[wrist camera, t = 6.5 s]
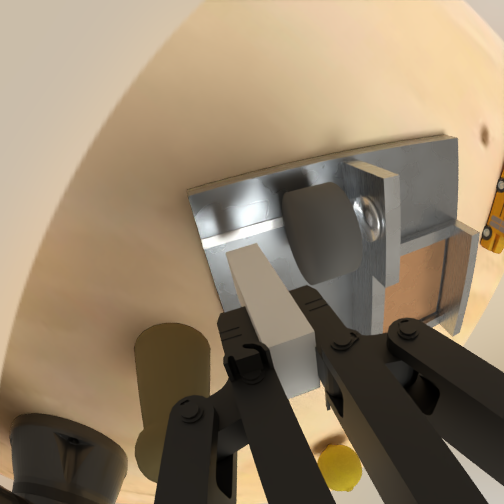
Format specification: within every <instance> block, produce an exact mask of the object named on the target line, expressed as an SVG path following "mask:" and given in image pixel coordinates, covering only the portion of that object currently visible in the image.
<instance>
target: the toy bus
mask: <svg viewBox="0 0 504 504" xmlns="http://www.w3.org/2000/svg"><path fill="white" fill-rule="evenodd" d="M497 190H498V191H497V193H496V196H495V200H494V203H493V207H492V210H491V213H490V216H489V219H488V223H487V226H485V227H484V230H483V232H482V237H483V238H482V240H481V246H482V247H484V248H486V249H487V250H489V251H492V252H494V253H498V254H500V253H501V252H502V250H503V248H504V170H503V173H502V175H501V179H499V180H498V183H497Z"/></svg>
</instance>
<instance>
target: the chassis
mask: <svg viewBox="0 0 504 504" xmlns="http://www.w3.org/2000/svg"><path fill="white" fill-rule="evenodd" d="M326 182H333V183H335V184H337V185H338V186H339V187H340V188H341V189H342V190H343V191H344V192H345V194H346V195H347V197H348V199H349V200H350V202H351V204H352V206H353V208H354V211H355V213H356V216H357V219H358V222H359V226H360V230H361V236H362V245H363V253H362V260H361V264H360V266H359V268H358V269H357V270H356V271H354V272H351V273H348V274H345V275H342V276H339V277H336V278H333V279H330V280H327V281H325V282H322V283H319V284H316V285H310V284H309V283H308V282H307V281H306V280H305V279H304V277H303V276H302V274H301V272H300V270H299V268H298V266H297V264H296V262H295V259H294V257H293V254H292V251H291V248H290V245H289V242H288V238H287V234H286V230H285V226H284V220H283V213H282V199H283V195H284V194H285V193H286V192H290V191H294V190H298V189H302V188H306V187H310V186H314V185H318V184H322V183H326ZM187 192H188V198H189V202H190V205H191V208H192V212H193V215H194V218H195V222H196V225H197V228H198V232H199V235H200V238H201V242H202V245H203V248H204V251H205V254H206V258H207V261H208V264H209V267H210V270H211V273H212V276H213V279H214V283H215V286H216V289H217V292H218V295H219V298H220V301H221V304H222V307H223V310H224V312H228V311H231V310H234V309H237V308H240V307H241V305H240V302H239V299H238V296H237V292H236V289H235V285H234V282H233V278H232V275H231V271H230V268H229V264H228V260H227V257H226V253H225V252H228V251H232V250H235V249H238V248H241V247H245V246H248V245H251V244H255V243H257V244H258V246H259V247H260V249H261V250H262V252H263V253H264V255H265V256H266V258H267V259H268V261H269V262H270V264H271V265H272V267H273V268H274V270H275V271H276V273H277V275H278V276H279V278H280V279H281V281H282V282H283V284H284V285H285V287H286V288H287V290H288V291H290V290H293V289H296V288H299V287H302V286H305V285H308V286H310V287H312V288H314V289H316V290H317V291H318V292H319V293H320V294H321V296H322V297H323V299H325V301H326V302H327V303H328V305H329V306H330V307H331V308H332V310H333V311H334V312H335V313H336V315H337V316H338V317H339V319H340V320H341V321H342V322H343V324H344V325H345V326H346V327H347V328H350V329H353V330H356V331H358V332H359V333H360V334H361V335H376V334H382V333H388V328H389V326H390V325H391V324H392V322H394V321H396V320H398V319H401V318H406V317H407V318H415V319H417V320H420V321H422V322H423V323H425V324H426V325H428V326H430V327H431V328H432V327H434V326H436V325H438V324H440V325H441V326H442V327H443V328H444V329H445V330H446V331H447V332H448V333H449V334H450V335H451V336H452V337H453V336H454V335H456V334H458V333H459V332H460V329H461V326H462V322H463V318H464V314H465V310H466V306H467V301H468V297H469V293H470V288H471V283H472V278H473V273H474V267H475V261H476V255H477V248H478V241H479V233H480V232H478V231H476V230H475V229H473V228H471V227H469V226H467V225H466V224H464V223H462V222H460V221H458V220H457V203H458V138H456V137H452V136H448V135H439V136H432V137H425V138H418V139H411V140H405V141H398V142H392V143H386V144H380V145H375V146H369V147H364V148H358V149H353V150H348V151H343V152H338V153H333V154H328V155H323V156H318V157H314V158H309V159H305V160H300V161H296V162H291V163H287V164H283V165H278V166H274V167H270V168H266V169H262V170H258V171H254V172H250V173H246V174H242V175H239V176H235V177H231V178H227V179H224V180H220V181H216V182H213V183H209V184H206V185H202V186H199V187H195V188H192V189H188V190H187Z"/></svg>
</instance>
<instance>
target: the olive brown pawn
mask: <svg viewBox="0 0 504 504" xmlns="http://www.w3.org/2000/svg"><path fill="white" fill-rule="evenodd" d="M134 351H135V362H136V372H137V382H138V390H139V398H140V406H141V413H142V420H143V426H144V430H143V431H142V432H141V433H140V434H139V437H138V439H137V442H136V445H135V457H136V460H137V464H138V467H139V469H140V471H141V472H142V473H143V475H144V476H145V477H147V478H148V479H149V480H151V481H153V482H156V483H157V482H158V476H159V470H160V464H161V458H162V452H163V447H164V441H165V436H166V430H167V425H168V420H169V414H170V412H171V409H172V407H173V406H174V405H175V404H176V403H177V402H178V401H179V400H181V399H183V398H184V397H187V396H191V395H200V396H203V397H206V398H208V397H210V346H209V344H208V341H207V339H206V338H205V337H204V336H203V335H202V334H201V333H200V332H199V331H197V330H195V329H194V328H192V327H190V326H186V325H183V324H179V323H164V324H160V325H155V326H152V327H151V328H149V329H147V330H145V331H144V332H143V333H142V334H141V335H140V336H139V337H138V338H137V341H136V344H135V347H134Z"/></svg>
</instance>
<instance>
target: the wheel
mask: <svg viewBox="0 0 504 504" xmlns="http://www.w3.org/2000/svg"><path fill="white" fill-rule="evenodd" d="M282 213H283V220H284V226H285V230H286V234H287V238H288V242H289V245H290V248H291V251H292V254H293V257H294V259H295V262H296V264H297V266H298V268H299V270H300V272H301V274H302V276H303V277H304V279H305V280H306V281H307V282H308V283H309V284H310V285H316V284H319V283H322V282H325V281H327V280H330V279H333V278H336V277H339V276H342V275H345V274H348V273H351V272H354V271H356V270H357V269H358V268H359V266H360V264H361V260H362V253H363V245H362V236H361V230H360V226H359V222H358V219H357V216H356V213H355V211H354V208H353V206H352V204H351V202H350V200H349V199H348V197H347V195H346V194H345V192H344V191H343V190H342V189H341V188H340V187H339V186H338V185H337V184H335V183H333V182H326V183H322V184H318V185H314V186H310V187H306V188H302V189H298V190H294V191H290V192H286V193H285V194H284V195H283V199H282Z"/></svg>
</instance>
